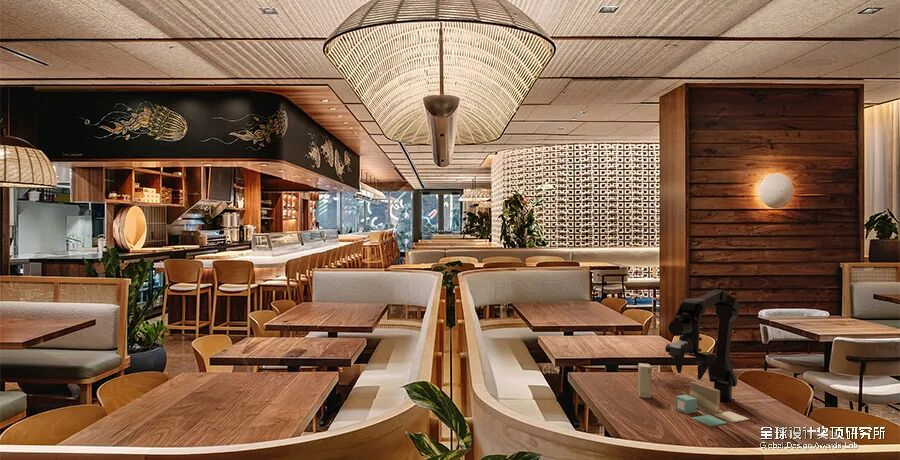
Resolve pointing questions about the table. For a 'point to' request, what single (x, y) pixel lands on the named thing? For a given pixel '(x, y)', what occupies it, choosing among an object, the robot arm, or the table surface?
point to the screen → (706, 398)
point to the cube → (686, 404)
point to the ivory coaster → (731, 416)
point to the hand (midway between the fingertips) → (689, 376)
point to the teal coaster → (709, 420)
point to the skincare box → (644, 380)
